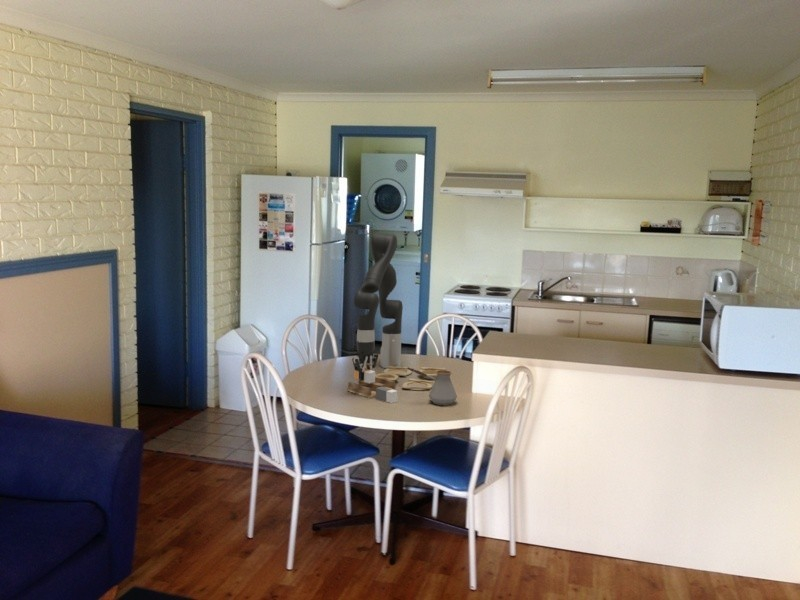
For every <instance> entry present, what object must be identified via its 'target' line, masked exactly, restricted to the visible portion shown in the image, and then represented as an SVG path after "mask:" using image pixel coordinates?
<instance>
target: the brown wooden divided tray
mask: <svg viewBox="0 0 800 600" xmlns="http://www.w3.org/2000/svg"><path fill="white" fill-rule="evenodd" d="M347 383H348V384H347V386H348V387H347V390H346V391H347V392H348V391H350V392H349V393H351V392H353V393H352V394H354V393H356V394H355V395H358V394H360V395H359V396H361V395H363V396H362V397H364V396H366V397H365V398H368V397H369V398H368V399H373V397H374V398H376V388H378V387H386V388H389V389H393V390H396V391H397V389H396V381H390V380H386V379H382V378H379V377H375V382H373V383H366V382H363V381H361V380H358V384H356V383H353V382H351V381H350V382H347Z"/></svg>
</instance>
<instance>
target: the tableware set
mask: <svg viewBox="0 0 800 600" xmlns="http://www.w3.org/2000/svg"><path fill="white" fill-rule="evenodd" d="M407 367H409V368H411V369H413V367H412V366H400V367H392V366H387V368H388V369H386V368H384V370H383V371H382V373H376V375H375V377H379V378H382V379H386V380H390V381H394V382H396V381H397V380H399V377H407V376H410V375H411V374H412V373H413V371H411V370H409V369H408V370H406V369H407ZM439 370H446V371H447V368H446V367H428V366H421V367H420V369H419V370H418V371H420V372H422V373H425V374H427V375H429V376H432V377H434V378H437V374H436V371H439ZM395 371H396V372H395ZM400 371H403V372H406V371H407V372H406V373H403V372H400ZM392 372H393V373H392ZM421 376H422V378H423V377H424V378H423V379H418V378H409V379H408V381H406V382H404V383H402V387H401V388H402V389H406V390H409V389H410V390H409V391H426V390H431V389H432V387H433V384H434V381H430V380H432V379H431V378H429V377H426V376H423V375H421ZM425 378H427V379H425ZM413 383H420V384H425V385H426V386H427V387H413V386H408V385H409V384H413Z"/></svg>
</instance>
